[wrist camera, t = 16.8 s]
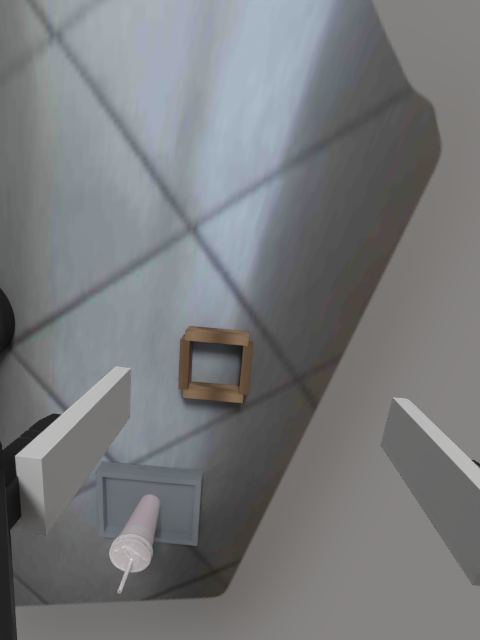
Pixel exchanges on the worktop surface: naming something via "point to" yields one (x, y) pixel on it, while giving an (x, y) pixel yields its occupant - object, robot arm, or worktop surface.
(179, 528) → the tray
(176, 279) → the worktop surface
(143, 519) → the smoothie
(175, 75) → the worktop surface
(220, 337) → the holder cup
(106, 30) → the worktop surface
